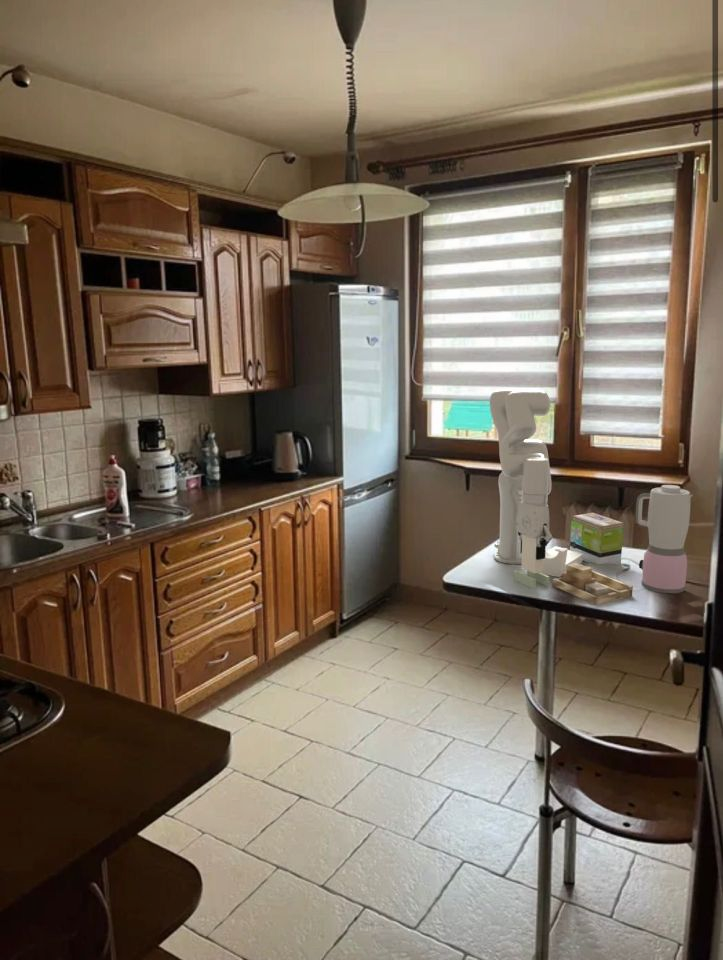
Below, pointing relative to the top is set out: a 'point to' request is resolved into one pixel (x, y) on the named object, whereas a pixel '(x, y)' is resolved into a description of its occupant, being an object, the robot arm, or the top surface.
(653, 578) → the blender
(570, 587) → the tray
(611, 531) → the tea box
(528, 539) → the tall board
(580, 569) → the offcut
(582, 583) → the offcut
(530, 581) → the holder
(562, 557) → the white saddle block
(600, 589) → the offcut
